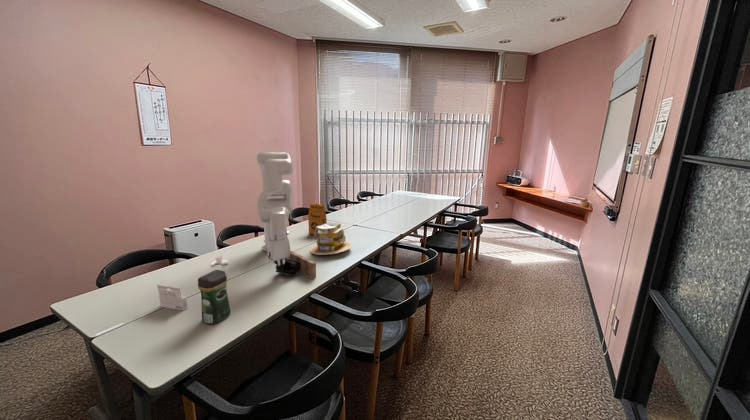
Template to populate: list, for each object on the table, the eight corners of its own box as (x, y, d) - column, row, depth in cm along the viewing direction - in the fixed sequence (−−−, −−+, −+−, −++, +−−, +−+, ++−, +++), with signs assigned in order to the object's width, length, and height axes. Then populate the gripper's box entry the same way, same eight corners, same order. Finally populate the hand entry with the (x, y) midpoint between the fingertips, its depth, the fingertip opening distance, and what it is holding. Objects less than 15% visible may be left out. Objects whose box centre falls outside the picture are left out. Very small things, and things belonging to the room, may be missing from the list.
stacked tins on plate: (301, 252, 186) (301, 225, 181) (328, 241, 206) (328, 216, 202) (334, 262, 173) (334, 233, 169) (359, 249, 194) (359, 223, 190)
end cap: (299, 275, 157) (301, 261, 158) (290, 275, 151) (293, 261, 151) (283, 271, 161) (285, 258, 162) (274, 271, 155) (277, 258, 155)
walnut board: (285, 264, 168) (285, 250, 166) (289, 263, 170) (288, 249, 168) (312, 278, 153) (312, 263, 151) (316, 277, 154) (315, 262, 152)
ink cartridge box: (165, 303, 127) (162, 282, 125) (188, 308, 125) (185, 285, 122) (159, 306, 125) (156, 284, 122) (183, 311, 122) (180, 288, 120)
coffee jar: (218, 308, 125) (214, 266, 120) (234, 313, 122) (230, 270, 117) (197, 322, 116) (192, 276, 111) (213, 327, 113) (209, 280, 109)
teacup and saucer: (231, 264, 167) (230, 257, 166) (215, 268, 161) (214, 261, 160) (224, 259, 172) (223, 252, 171) (209, 263, 167) (208, 256, 166)
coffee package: (321, 237, 212) (321, 206, 207) (306, 234, 217) (305, 204, 212) (329, 233, 221) (329, 203, 215) (314, 231, 226) (314, 201, 220)
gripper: (288, 231, 155) (289, 265, 160) (260, 237, 145) (262, 273, 149) (296, 234, 151) (297, 269, 155) (268, 241, 140) (270, 279, 144)
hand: (280, 271), depth 152 cm, fingers closed
